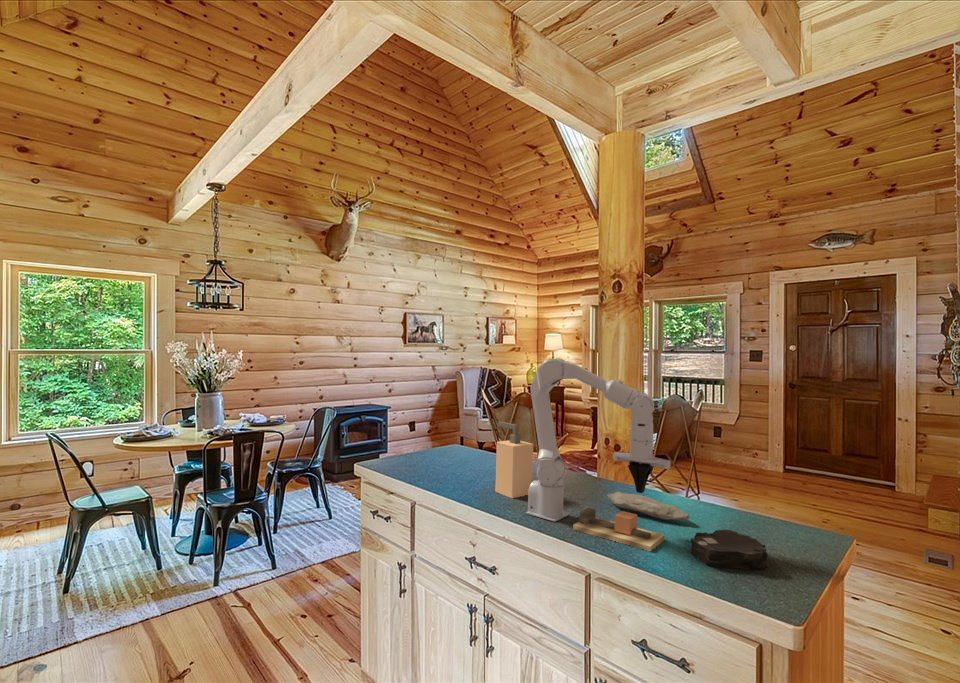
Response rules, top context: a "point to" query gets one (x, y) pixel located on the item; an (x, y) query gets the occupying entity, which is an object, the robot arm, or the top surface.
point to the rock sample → (729, 550)
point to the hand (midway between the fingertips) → (640, 491)
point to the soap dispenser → (513, 464)
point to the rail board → (606, 530)
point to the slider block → (625, 522)
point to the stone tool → (647, 506)
